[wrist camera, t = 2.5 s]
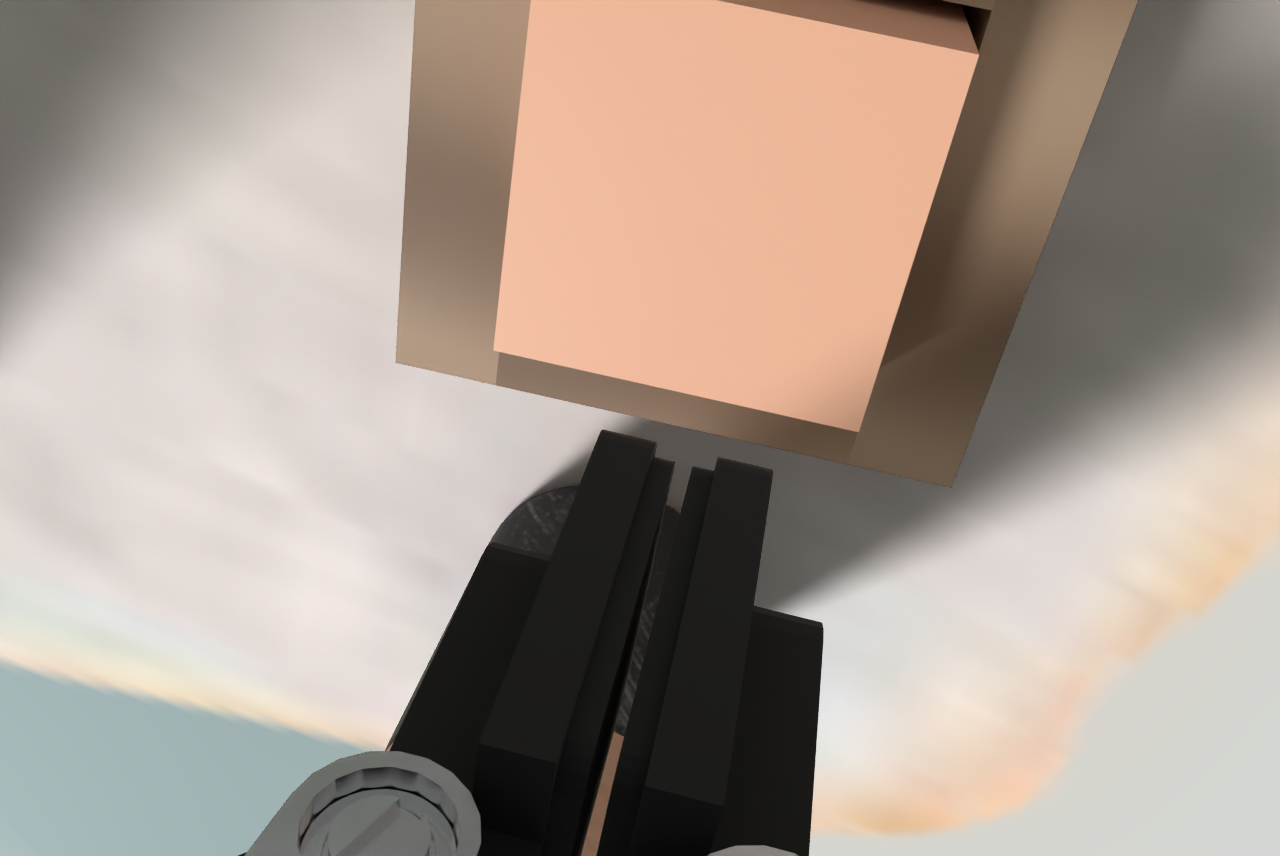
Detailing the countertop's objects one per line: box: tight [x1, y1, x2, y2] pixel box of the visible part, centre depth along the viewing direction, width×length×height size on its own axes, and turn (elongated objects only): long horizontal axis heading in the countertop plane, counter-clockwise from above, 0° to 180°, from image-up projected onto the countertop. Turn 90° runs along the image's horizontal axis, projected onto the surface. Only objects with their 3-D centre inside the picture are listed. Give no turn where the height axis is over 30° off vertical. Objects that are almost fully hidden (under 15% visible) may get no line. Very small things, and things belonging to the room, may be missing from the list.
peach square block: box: [493, 0, 979, 432], centre depth 22 cm, size 7×7×5 cm
